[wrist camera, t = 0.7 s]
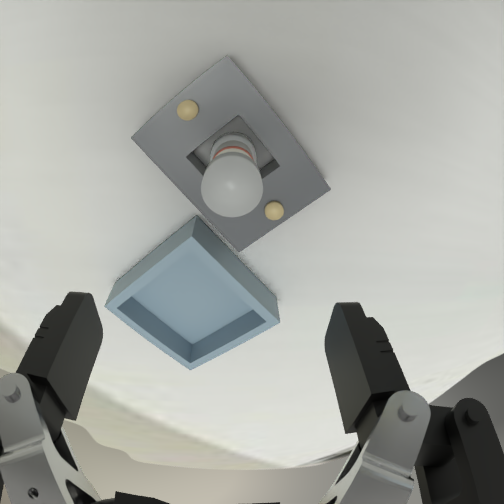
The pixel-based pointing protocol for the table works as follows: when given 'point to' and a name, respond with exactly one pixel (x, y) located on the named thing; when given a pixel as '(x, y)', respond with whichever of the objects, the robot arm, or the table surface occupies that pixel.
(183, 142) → the fuse block
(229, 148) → the cylinder
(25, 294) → the table surface
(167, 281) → the parts tray
